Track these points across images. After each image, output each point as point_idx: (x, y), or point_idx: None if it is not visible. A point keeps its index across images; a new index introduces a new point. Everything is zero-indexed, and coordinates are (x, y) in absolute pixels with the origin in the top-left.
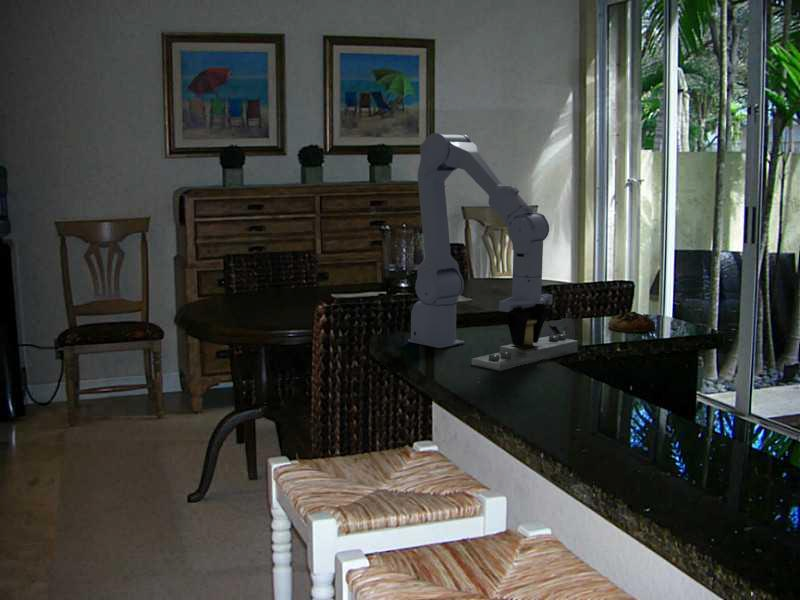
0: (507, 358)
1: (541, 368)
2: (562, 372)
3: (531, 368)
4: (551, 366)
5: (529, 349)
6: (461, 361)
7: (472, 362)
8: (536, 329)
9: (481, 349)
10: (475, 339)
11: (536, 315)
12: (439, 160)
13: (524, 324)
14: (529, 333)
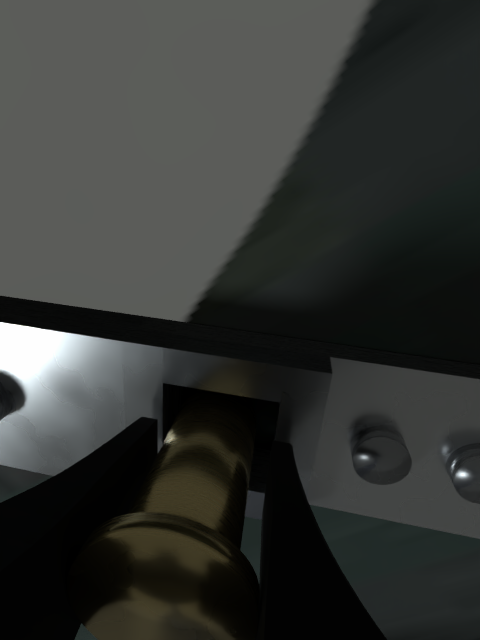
0: (407, 428)
1: (373, 240)
2: (400, 78)
3: (406, 282)
4: (291, 224)
5: (263, 395)
6: (453, 565)
7: None
8: (114, 478)
9: None
10: None
11: (46, 585)
12: None
13: (298, 557)
14: (212, 475)
